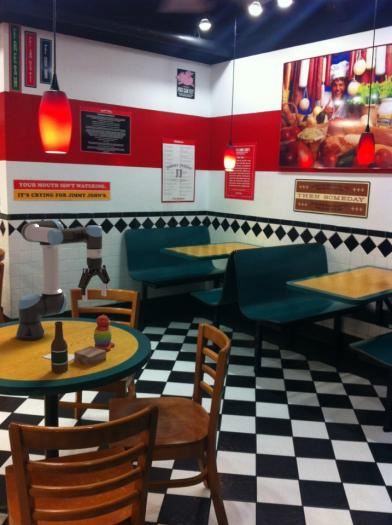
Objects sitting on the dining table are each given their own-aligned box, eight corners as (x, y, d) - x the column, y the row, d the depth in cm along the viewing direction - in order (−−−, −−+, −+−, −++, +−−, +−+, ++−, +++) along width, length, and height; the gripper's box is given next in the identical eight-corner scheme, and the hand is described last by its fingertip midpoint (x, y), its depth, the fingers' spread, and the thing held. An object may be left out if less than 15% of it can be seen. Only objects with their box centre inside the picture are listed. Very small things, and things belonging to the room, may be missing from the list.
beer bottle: (52, 367, 244) (51, 319, 240) (69, 367, 245) (68, 319, 240) (49, 374, 236) (48, 324, 232) (66, 374, 237) (65, 324, 233)
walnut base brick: (74, 361, 253) (74, 352, 252) (90, 355, 262) (90, 346, 261) (90, 367, 247) (90, 357, 246) (106, 360, 256) (106, 350, 255)
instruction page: (42, 357, 256) (42, 356, 256) (55, 351, 265) (55, 350, 265) (66, 363, 250) (66, 362, 250) (79, 356, 259) (79, 355, 259)
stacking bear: (108, 352, 266) (108, 319, 263) (90, 350, 268) (90, 317, 265) (115, 345, 277) (115, 313, 273) (98, 343, 279) (98, 312, 275)
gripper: (81, 261, 238) (82, 305, 242) (117, 254, 259) (116, 294, 263) (70, 259, 242) (70, 302, 246) (105, 252, 263) (105, 292, 267)
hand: (94, 298), depth 254 cm, fingers open, 13 cm apart
